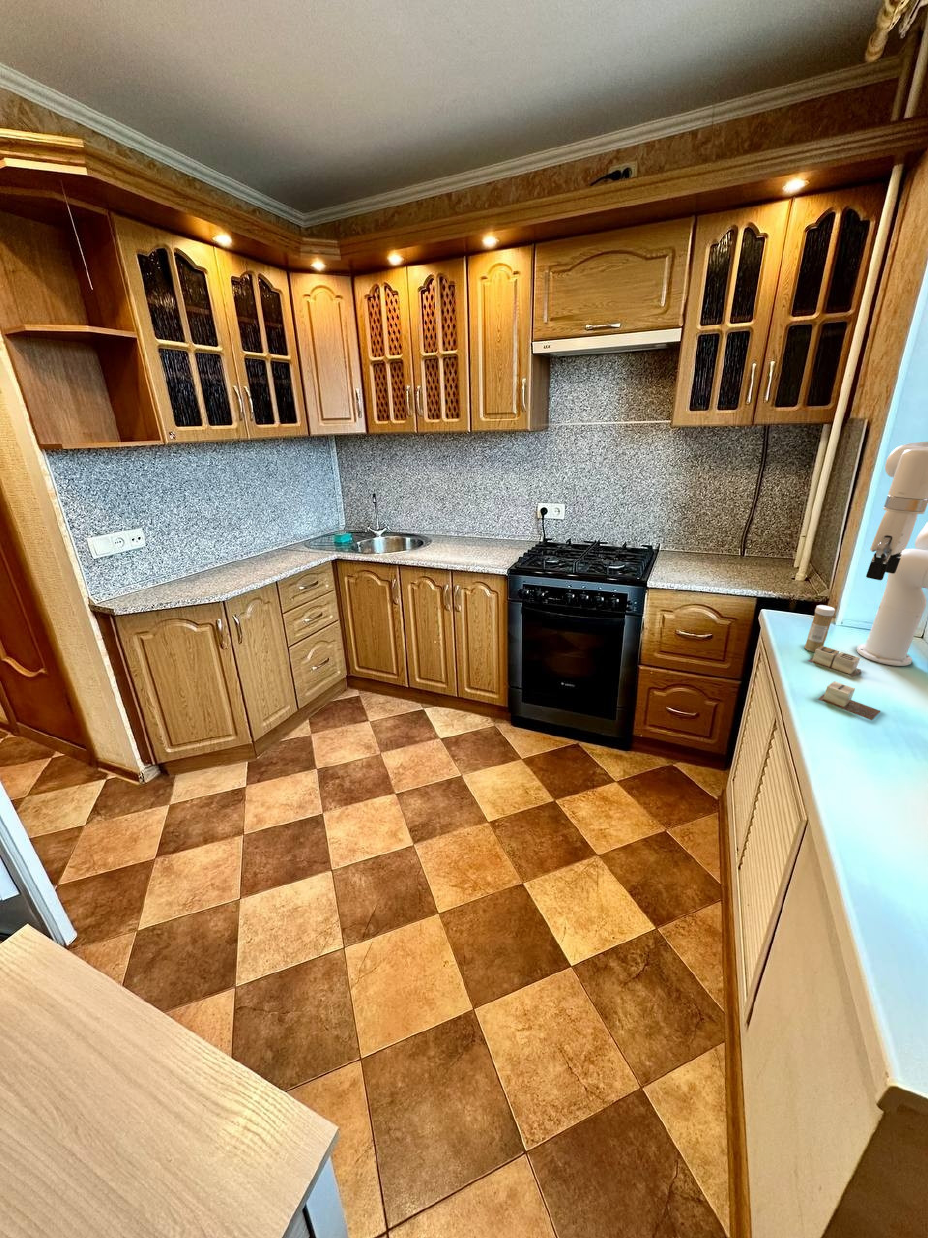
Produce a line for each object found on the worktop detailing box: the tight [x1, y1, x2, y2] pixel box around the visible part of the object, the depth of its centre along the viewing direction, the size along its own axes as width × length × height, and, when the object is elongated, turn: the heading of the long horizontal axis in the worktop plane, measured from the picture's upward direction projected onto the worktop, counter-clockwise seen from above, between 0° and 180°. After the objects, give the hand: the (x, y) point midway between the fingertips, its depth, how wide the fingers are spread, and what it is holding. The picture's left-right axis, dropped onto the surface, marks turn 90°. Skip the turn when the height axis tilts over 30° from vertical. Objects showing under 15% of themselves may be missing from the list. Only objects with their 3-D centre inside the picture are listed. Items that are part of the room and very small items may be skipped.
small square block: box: [832, 651, 861, 674], centre depth 137 cm, size 4×4×4 cm
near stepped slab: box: [817, 681, 881, 721], centre depth 120 cm, size 6×11×4 cm, turn 38°
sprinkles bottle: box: [804, 604, 836, 653], centre depth 148 cm, size 5×5×14 cm
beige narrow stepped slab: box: [807, 645, 862, 677], centre depth 139 cm, size 6×11×4 cm, turn 38°
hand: (880, 575), depth 124 cm, fingers open, 9 cm apart
